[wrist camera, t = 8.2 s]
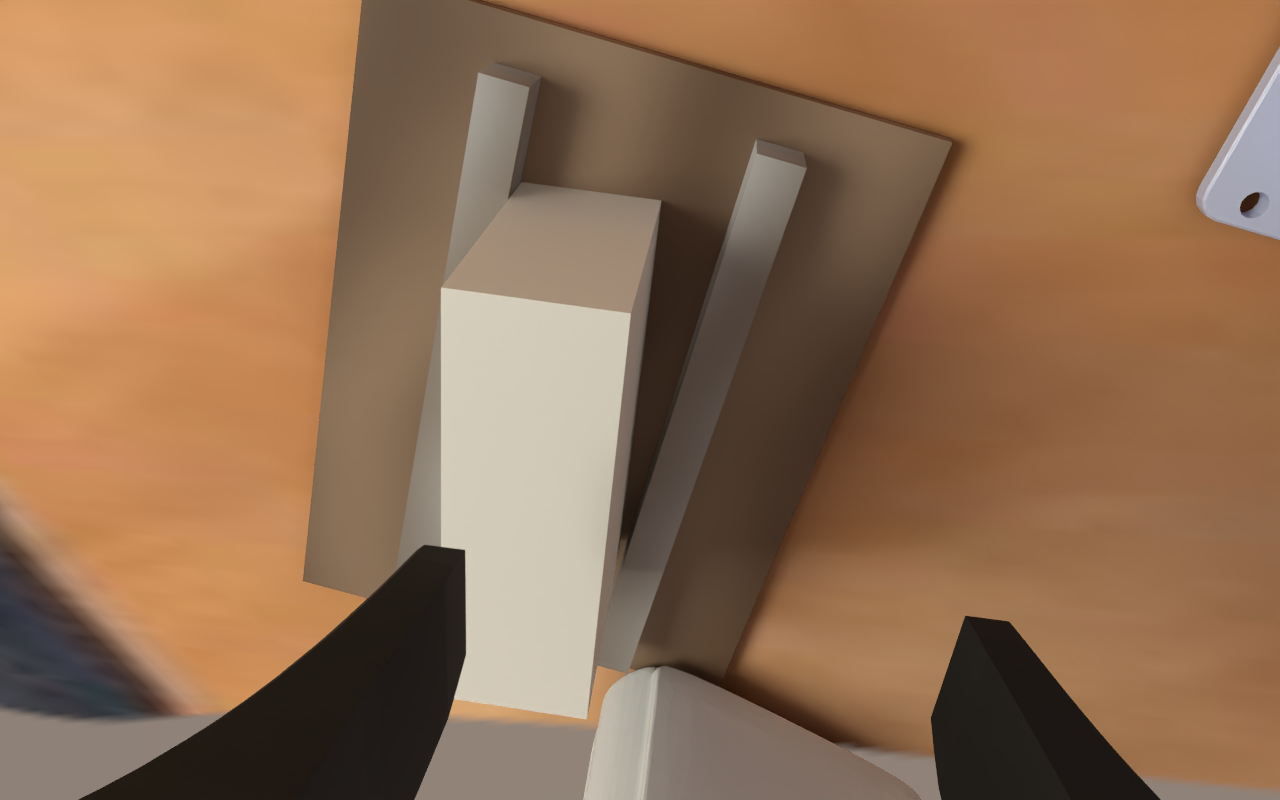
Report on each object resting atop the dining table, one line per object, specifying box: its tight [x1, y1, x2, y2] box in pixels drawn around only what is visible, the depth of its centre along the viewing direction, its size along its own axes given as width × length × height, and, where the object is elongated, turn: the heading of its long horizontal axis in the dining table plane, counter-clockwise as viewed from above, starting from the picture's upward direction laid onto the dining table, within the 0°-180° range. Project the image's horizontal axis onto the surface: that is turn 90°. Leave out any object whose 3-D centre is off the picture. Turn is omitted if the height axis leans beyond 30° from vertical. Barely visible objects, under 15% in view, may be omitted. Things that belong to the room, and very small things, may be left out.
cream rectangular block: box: [441, 182, 661, 719], centre depth 19 cm, size 3×9×6 cm, turn 174°
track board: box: [303, 0, 953, 687], centre depth 22 cm, size 12×16×2 cm
